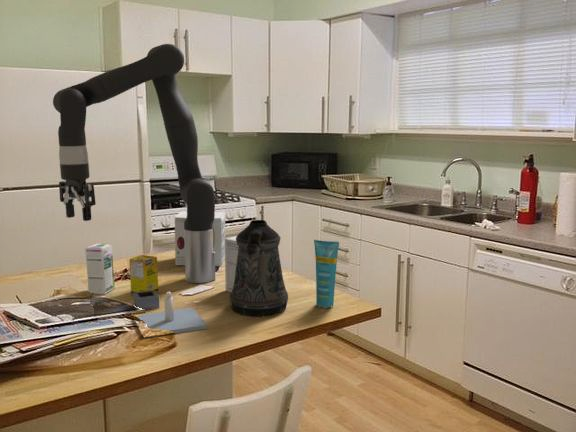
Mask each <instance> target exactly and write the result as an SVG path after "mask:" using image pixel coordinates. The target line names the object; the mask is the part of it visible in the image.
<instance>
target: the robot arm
mask: <svg viewBox="0 0 576 432" xmlns="http://www.w3.org/2000/svg"><path fill="white" fill-rule="evenodd" d="M184 55H185V54H184V53H183V51H182V50H181V49H180V48H179V46H177V45H175V44H172V43H163V44H160V45H157V46H155V47H152V48H150V50H149V51H148V52H147V55H146V56H145V57H143V58H140V59H139V60H136V61H135V62H132V63H128V64H126V65H123V66H118V67H117V68H113V69H110V70H107V71H105V72H103V73H100V74H98V75H95V76H93V77H90V78H89V79H87V80H85V81H83V82H80V83H77V84H74V85H71V86H68V87H66V88H63V89H61V90H58V91H57V92H56V93H55V94H54V96H53V99H52V105H53V107H54V109H55V110H56V111H57V112H58V113H59V116H60V119H59V120H60V125H59V127H58V129H57V133H58V134H57V135H58V146H59V147H58V148H59V149H58V156H59V157H58V160H59V170H60V179H62V181H59V182H58V187H59V189H58V190H59V201H60V203H63V205H64V206H65V215H66V216H65V217H66V218H67V219H70V218H75V214H76V213H75V204H74V202H75V200H77V202H79V203H80V205H81V211H82V220H83V221H84V222H88V221H91V220H92V209H91V208H92V206H95V205H96V202H97V201H96V195H95V186H94V184H93V183H88V184H87V180H88V179H89V178H90V177H91V175H90V164H89V152H88V147H87V138H86V131H85V130H86V120H87V119H86V118H87V108H88V107H90V106H92V105H97V104H99V103H103V102H106V101H108V100H110V99H113V98H115V97H116V96H119V95H122V94H123V93H125V92H127V91H129V90H131V89H133V88H136V87H137V86H140V85H141V84H144V83H147V82H150V81H152V84H153V87H154V89H155V92H156V95H157V99H158V103H159V107H160V112H161V113H160V114H161V116H162V120H163V125H164V130H165V134H166V137H167V141H168V145H169V148H170V151H171V154H172V155H171V156H172V159H173V161H174V164H175V167H176V171H177V179H178V186H179V192H180V193H179V194H180V197H181V199H182V201H183V203H185V204H186V211H187V218H186V220H185V221H184V243H185V265H184V272H185V273H184V276H185V279H184V280H185V281H186V282H188V283H192V284H202V283H203V284H205V283H210V282H211V281H216V266H215V252H214V251H213V221H214V217H215V212H216V210H215V209H216V195H215V194H216V193H215V189H214V188H213V186H212V185H211V184H210V183H209V182H207V181H206V180H204V179H203V176H202V173H201V170H200V167H199V162H198V152H199V151H198V149H199V143H198V142H199V140H198V133H197V128H196V125H195V120H194V116H193V114H192V112H191V110H190V107H189V106H188V105H187V103H186V101H185V99H184V98H183V96H182V95H181V92H180V89H179V87H178V81H177V77H176V75H177V74H178V73H179V72H181V70H182V69H183V67H184V65H185V56H184Z"/></svg>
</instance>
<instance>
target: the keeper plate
mask: <svg viewBox="0 0 576 432" xmlns="http://www.w3.org/2000/svg"><path fill="white" fill-rule="evenodd" d="M138 315H139V316H138V318H139V319H140V320H143V321H144V322H145V323H147V327H148V328H151V329H160V330H169V331H172V332H174V333H175V334H178V333H179V334H180V333H186V332H187V333H188V332H194V331H199V330H200V331H201V330H206V329H208V324H207V323H206V321H205V320H204V319H203V318H202V317H201V316H200V315H199V313H198V312H197V311H196V310H195V308H194V307H186V308H177V309H174V297H173V296H172V292H171V291H167V292H165V297H164V311H158V312H150V313H143V314H138Z"/></svg>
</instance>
